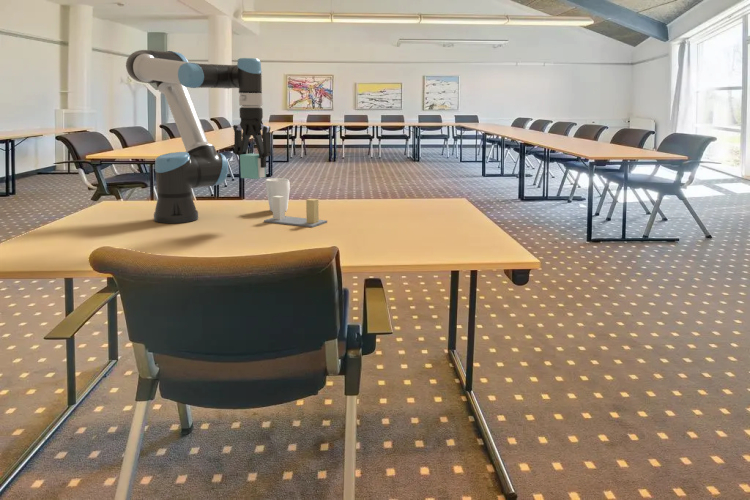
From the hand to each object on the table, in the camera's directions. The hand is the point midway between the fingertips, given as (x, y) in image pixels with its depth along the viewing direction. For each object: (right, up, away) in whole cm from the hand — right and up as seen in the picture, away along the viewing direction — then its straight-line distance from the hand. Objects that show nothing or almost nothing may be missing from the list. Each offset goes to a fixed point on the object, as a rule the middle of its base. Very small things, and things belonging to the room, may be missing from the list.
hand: (253, 176), depth 214 cm
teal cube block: (0, 0, 0) cm, 0 cm away
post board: (+13, -15, +9) cm, 22 cm away
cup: (+4, -10, +30) cm, 32 cm away
